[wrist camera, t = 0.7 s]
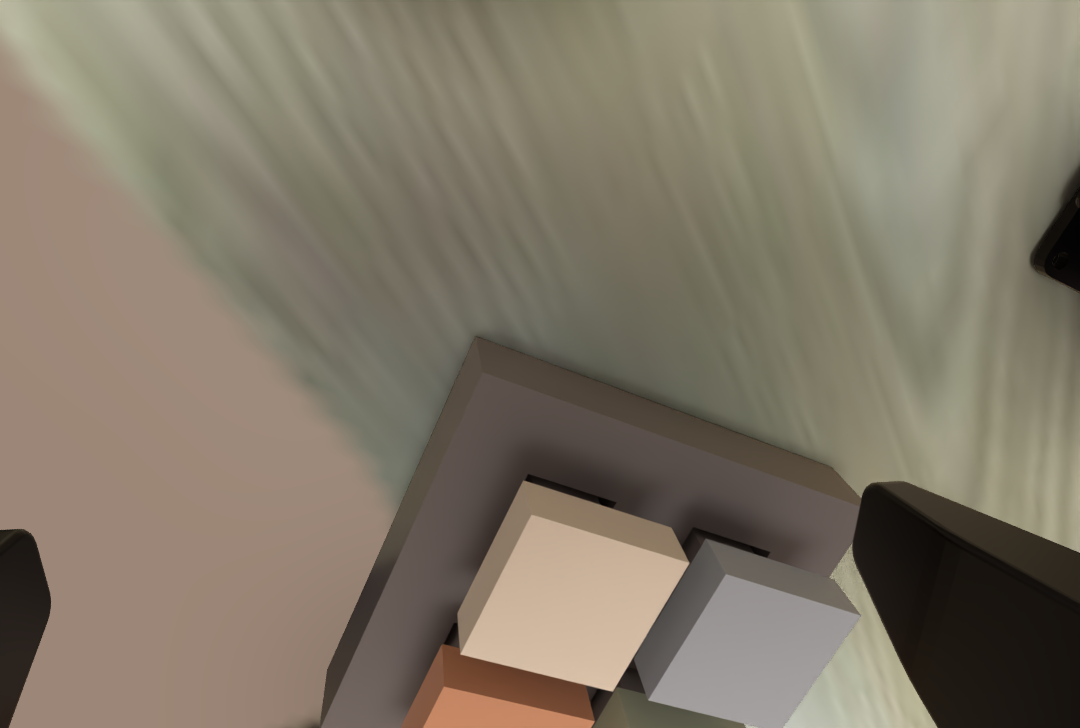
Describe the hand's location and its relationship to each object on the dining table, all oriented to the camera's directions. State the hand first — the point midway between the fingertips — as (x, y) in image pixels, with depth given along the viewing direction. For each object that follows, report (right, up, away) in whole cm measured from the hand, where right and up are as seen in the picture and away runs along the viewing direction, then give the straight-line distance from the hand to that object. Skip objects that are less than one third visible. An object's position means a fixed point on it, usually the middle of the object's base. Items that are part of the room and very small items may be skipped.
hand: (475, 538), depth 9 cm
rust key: (-1, -6, +15) cm, 16 cm away
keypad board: (+2, -4, +16) cm, 17 cm away
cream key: (+1, -2, +13) cm, 14 cm away
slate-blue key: (+5, -4, +15) cm, 16 cm away
